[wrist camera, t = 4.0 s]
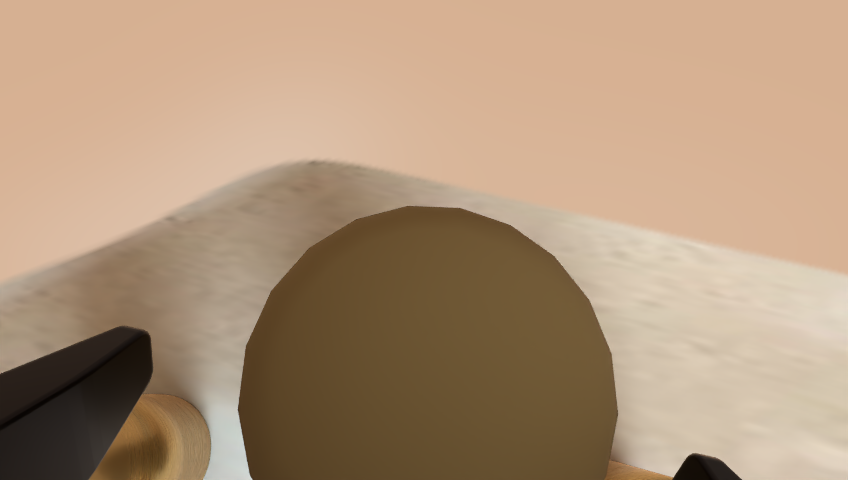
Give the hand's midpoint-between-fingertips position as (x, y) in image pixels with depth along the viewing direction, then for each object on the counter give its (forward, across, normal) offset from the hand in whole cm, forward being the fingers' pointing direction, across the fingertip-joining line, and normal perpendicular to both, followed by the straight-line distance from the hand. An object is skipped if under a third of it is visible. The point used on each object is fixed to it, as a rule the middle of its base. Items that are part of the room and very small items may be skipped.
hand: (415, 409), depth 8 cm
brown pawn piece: (+6, 0, +6) cm, 8 cm away
